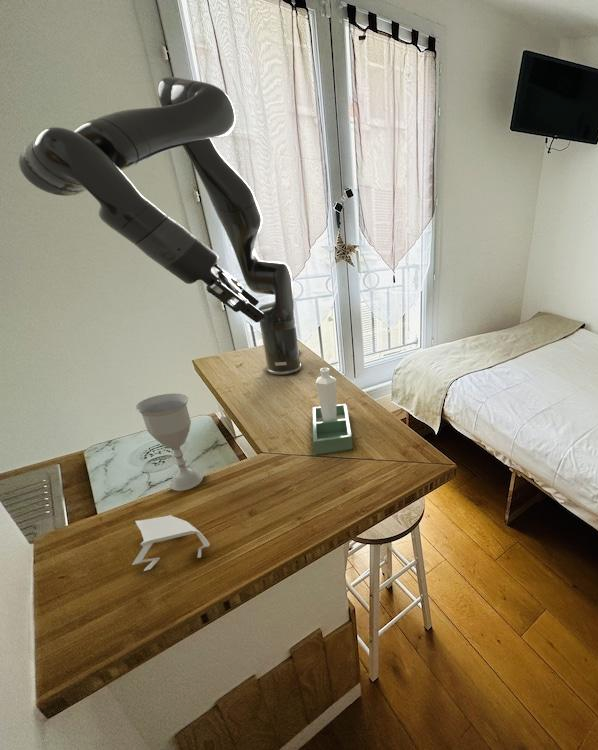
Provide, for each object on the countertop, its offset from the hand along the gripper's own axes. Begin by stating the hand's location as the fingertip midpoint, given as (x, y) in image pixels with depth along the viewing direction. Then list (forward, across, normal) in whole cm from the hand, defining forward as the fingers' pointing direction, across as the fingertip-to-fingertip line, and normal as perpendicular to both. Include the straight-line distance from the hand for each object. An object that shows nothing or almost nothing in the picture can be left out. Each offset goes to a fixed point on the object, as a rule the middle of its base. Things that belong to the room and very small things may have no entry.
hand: (258, 311), depth 81 cm
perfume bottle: (+30, -3, +11) cm, 32 cm away
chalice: (+11, -11, +33) cm, 36 cm away
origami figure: (+10, -29, +34) cm, 45 cm away
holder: (+30, -6, +11) cm, 33 cm away
